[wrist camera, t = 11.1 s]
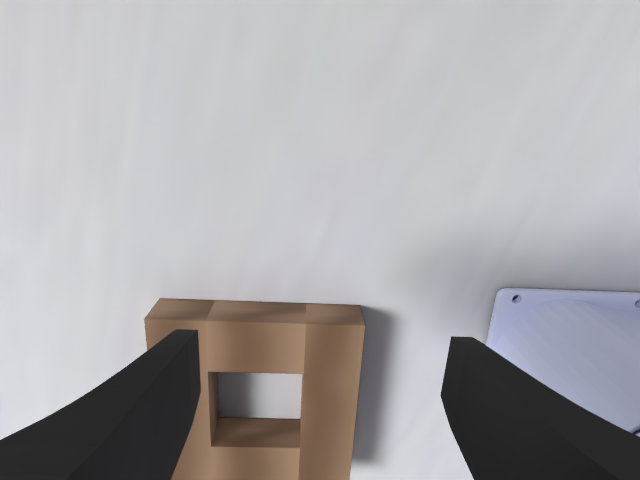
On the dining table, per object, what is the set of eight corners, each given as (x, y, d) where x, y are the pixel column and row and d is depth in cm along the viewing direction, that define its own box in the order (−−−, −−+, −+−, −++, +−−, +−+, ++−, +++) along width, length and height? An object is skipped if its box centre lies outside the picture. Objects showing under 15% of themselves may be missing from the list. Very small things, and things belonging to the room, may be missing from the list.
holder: (359, 305, 23) (365, 325, 20) (345, 457, 26) (348, 488, 24) (159, 298, 22) (144, 318, 20) (172, 455, 26) (160, 486, 23)
